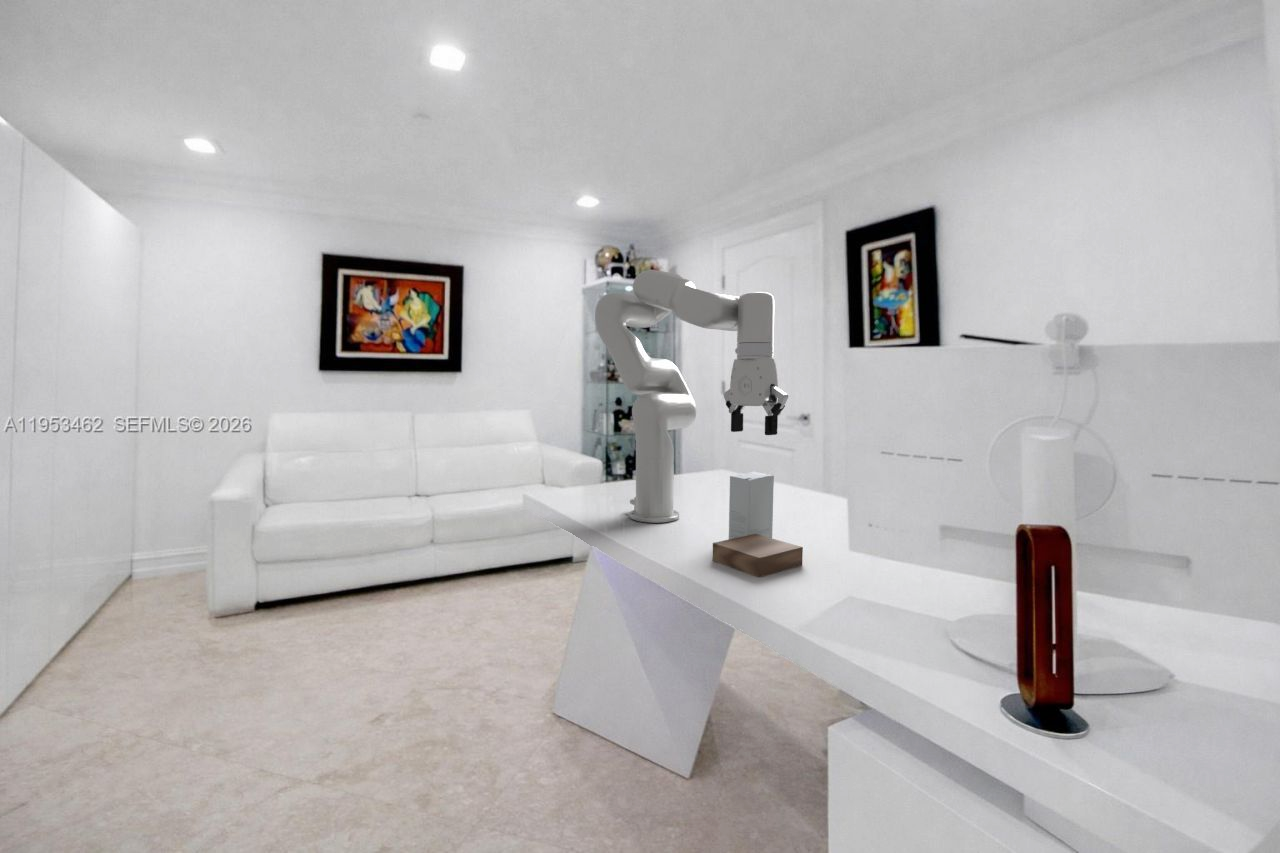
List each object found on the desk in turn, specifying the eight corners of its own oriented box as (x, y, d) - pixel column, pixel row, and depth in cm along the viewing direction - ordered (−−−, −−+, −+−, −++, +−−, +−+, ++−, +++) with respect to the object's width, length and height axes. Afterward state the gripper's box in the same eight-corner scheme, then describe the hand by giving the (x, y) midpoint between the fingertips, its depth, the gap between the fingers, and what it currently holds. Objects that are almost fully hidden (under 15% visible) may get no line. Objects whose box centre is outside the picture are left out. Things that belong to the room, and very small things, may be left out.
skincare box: (752, 536, 136) (753, 470, 134) (773, 542, 131) (775, 474, 130) (726, 542, 130) (728, 474, 129) (748, 548, 126) (749, 478, 124)
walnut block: (712, 560, 117) (712, 542, 117) (755, 550, 124) (755, 533, 124) (759, 577, 108) (759, 557, 107) (802, 565, 115) (802, 547, 114)
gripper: (713, 353, 132) (712, 431, 133) (774, 350, 118) (772, 437, 119) (737, 354, 136) (736, 429, 138) (799, 351, 123) (797, 435, 124)
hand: (753, 433), depth 129 cm, fingers open, 9 cm apart
